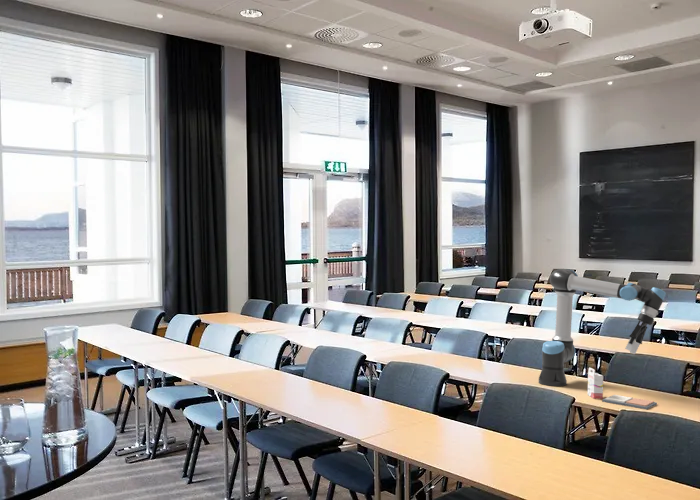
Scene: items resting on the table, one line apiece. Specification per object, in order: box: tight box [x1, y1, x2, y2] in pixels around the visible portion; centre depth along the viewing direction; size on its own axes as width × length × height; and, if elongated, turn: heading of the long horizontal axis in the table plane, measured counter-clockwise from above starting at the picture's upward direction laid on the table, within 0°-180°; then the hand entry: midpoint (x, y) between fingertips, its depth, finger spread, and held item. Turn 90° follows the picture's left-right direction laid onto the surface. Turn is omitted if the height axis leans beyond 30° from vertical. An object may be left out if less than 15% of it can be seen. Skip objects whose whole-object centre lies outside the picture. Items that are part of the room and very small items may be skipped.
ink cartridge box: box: [587, 366, 604, 400], centre depth 319 cm, size 9×5×15 cm, turn 1°
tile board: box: [601, 394, 658, 410], centre depth 308 cm, size 21×15×2 cm
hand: (630, 351), depth 330 cm, fingers open, 13 cm apart
